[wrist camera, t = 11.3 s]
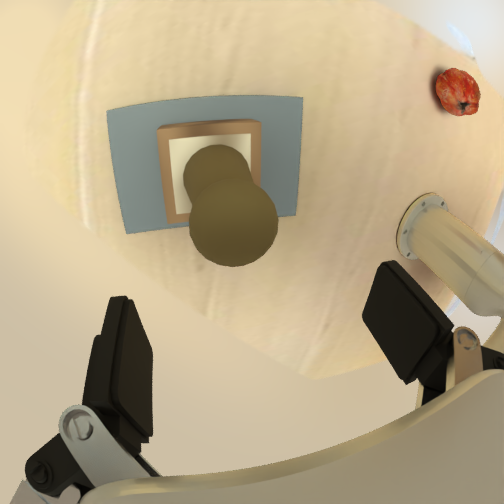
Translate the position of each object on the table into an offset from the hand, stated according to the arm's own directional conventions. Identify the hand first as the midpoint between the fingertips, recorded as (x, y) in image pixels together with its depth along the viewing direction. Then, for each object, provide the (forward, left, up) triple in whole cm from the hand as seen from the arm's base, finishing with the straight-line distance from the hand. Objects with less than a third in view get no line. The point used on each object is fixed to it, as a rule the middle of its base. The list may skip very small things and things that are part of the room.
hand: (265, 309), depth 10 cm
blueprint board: (0, 0, -22) cm, 22 cm away
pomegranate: (-34, -13, -22) cm, 42 cm away
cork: (0, 0, -17) cm, 17 cm away
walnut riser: (0, 0, -21) cm, 21 cm away
